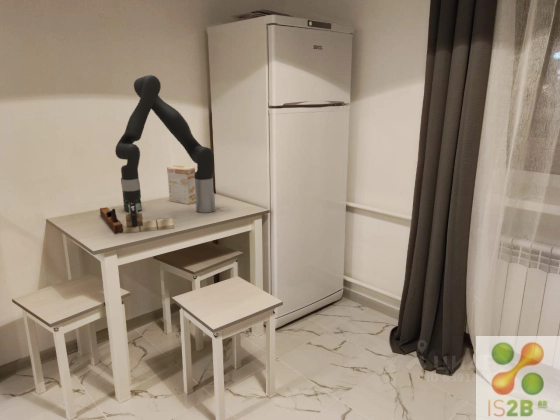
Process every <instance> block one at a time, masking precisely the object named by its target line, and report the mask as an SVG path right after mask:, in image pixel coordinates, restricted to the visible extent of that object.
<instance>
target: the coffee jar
mask: <svg viewBox="0 0 560 420" xmlns="http://www.w3.org/2000/svg"><path fill="white" fill-rule="evenodd" d="M120 182H121V183H120V184H121V185H122V177H121V178H120ZM121 190H122V189H121ZM122 193H123V190H122ZM141 198H142V197H141ZM141 198H140V199H138V200H136V202H137V204H138V207H137V209H138V210H137V211H138V212H140V211H142V209H143V207H142V206H143V205H142V201H141ZM122 199H123V198H122ZM129 202H130V201H129V200H124V199H123V209H124V210H125V211H126V212H128V213H130V212H129V207H128V203H129Z"/></svg>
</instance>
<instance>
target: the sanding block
mask: <svg viewBox="0 0 560 420" xmlns="http://www.w3.org/2000/svg"><path fill="white" fill-rule="evenodd" d="M132 216H136V215H135V214H132ZM143 221H144V220H143V213H142V212H138V213H137V226H143ZM125 223H126V225H127V227H133V226H132V219H131V214H130V213H126V214H125Z"/></svg>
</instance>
